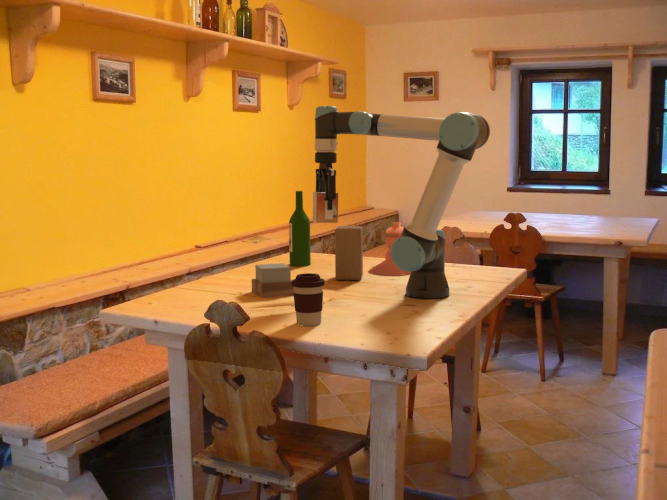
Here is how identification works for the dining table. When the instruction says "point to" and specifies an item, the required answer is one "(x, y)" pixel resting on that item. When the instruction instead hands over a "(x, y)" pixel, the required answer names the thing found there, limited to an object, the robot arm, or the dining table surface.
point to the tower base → (272, 289)
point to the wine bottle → (299, 235)
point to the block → (348, 253)
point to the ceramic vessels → (388, 265)
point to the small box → (323, 208)
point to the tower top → (273, 273)
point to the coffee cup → (308, 298)
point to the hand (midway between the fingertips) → (325, 218)
